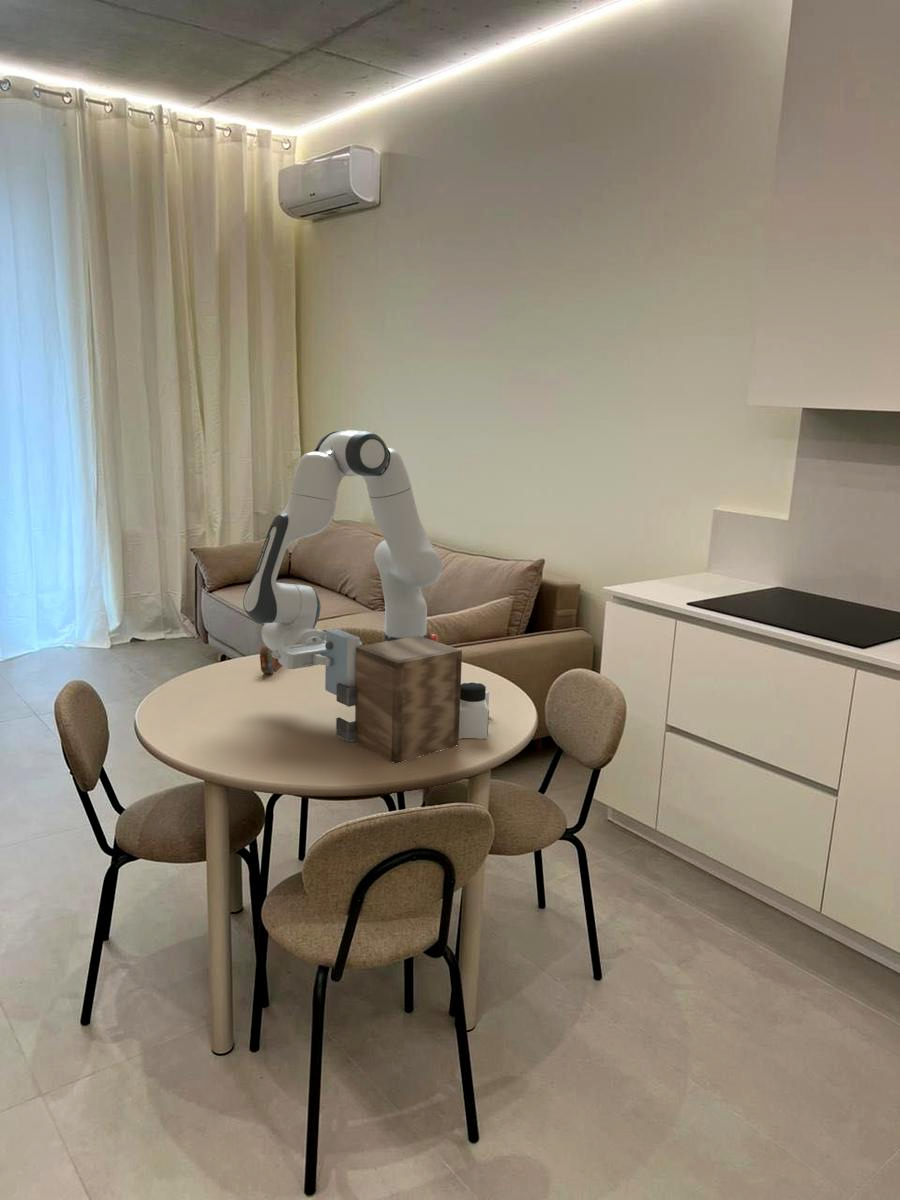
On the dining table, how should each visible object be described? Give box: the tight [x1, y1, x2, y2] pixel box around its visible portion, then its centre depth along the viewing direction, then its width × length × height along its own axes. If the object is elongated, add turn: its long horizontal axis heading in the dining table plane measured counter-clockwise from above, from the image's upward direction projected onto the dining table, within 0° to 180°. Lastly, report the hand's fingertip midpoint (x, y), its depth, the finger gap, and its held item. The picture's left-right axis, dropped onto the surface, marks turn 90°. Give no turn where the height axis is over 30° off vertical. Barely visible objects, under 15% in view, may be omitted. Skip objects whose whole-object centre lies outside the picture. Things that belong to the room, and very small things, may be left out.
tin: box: [259, 643, 283, 675], centre depth 250 cm, size 15×3×8 cm, turn 173°
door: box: [324, 628, 361, 696], centre depth 199 cm, size 10×4×14 cm, turn 40°
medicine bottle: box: [459, 681, 490, 740], centre depth 205 cm, size 7×7×12 cm
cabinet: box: [335, 636, 463, 764], centre depth 197 cm, size 20×19×22 cm
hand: (339, 661), depth 201 cm, fingers closed on door, 3 cm apart
